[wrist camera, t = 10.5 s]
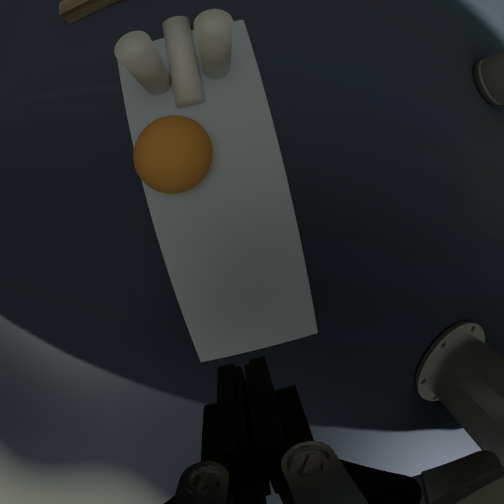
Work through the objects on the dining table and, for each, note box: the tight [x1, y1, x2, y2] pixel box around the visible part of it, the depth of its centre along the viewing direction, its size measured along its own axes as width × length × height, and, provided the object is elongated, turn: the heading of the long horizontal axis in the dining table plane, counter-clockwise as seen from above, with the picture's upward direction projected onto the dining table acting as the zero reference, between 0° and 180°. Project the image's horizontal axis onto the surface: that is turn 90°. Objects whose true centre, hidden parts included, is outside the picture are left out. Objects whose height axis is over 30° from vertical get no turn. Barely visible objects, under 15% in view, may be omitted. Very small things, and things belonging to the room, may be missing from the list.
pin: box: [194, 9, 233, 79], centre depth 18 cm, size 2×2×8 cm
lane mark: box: [117, 20, 318, 362], centre depth 25 cm, size 31×12×1 cm, turn 14°
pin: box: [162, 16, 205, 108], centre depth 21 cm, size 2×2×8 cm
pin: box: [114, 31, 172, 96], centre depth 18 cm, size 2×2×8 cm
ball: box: [133, 115, 213, 194], centre depth 21 cm, size 6×6×6 cm
